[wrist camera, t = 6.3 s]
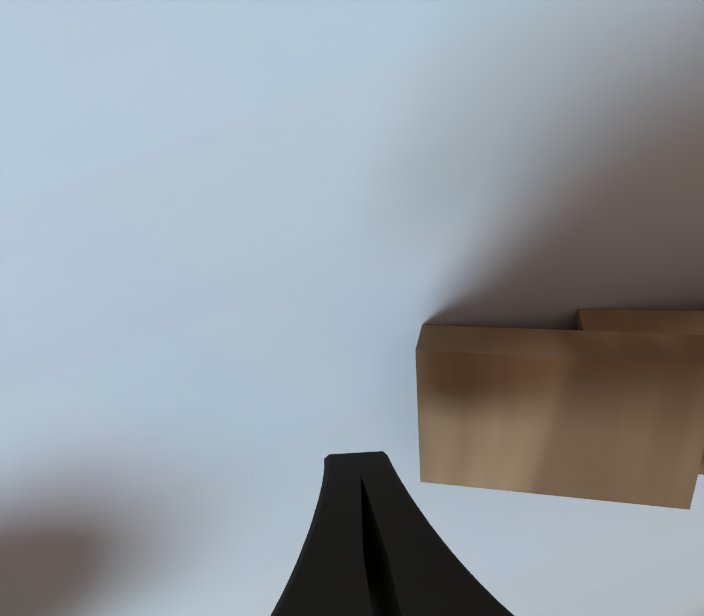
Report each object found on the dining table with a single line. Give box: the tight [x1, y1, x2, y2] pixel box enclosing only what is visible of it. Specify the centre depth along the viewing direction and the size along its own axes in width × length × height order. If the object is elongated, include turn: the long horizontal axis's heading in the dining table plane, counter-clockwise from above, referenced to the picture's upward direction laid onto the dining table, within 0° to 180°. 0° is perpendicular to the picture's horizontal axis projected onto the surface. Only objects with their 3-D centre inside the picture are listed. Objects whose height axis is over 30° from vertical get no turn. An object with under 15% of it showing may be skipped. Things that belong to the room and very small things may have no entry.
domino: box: [416, 325, 704, 509], centre depth 15 cm, size 1×4×7 cm
